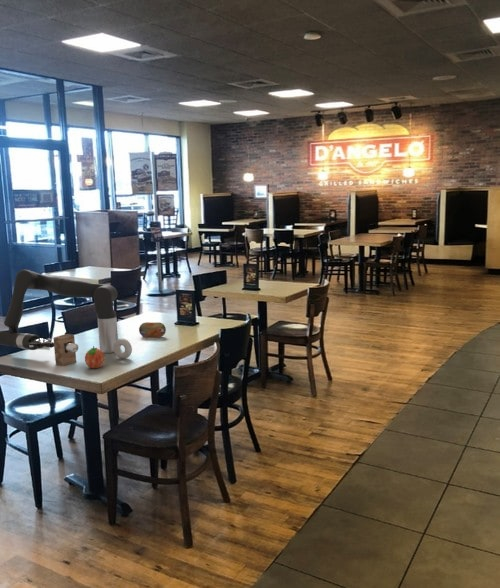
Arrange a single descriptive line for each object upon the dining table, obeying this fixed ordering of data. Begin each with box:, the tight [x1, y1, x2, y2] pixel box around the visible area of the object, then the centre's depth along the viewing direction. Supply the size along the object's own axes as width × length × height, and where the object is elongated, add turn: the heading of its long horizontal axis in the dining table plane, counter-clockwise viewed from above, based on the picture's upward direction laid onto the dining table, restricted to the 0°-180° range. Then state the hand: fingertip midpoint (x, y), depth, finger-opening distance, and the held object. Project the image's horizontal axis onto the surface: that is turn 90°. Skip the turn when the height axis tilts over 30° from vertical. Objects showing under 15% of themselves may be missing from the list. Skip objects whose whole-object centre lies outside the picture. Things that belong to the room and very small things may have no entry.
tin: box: [138, 321, 167, 339], centre depth 321 cm, size 15×3×8 cm, turn 76°
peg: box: [64, 343, 79, 353], centre depth 272 cm, size 9×4×4 cm, turn 60°
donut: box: [113, 337, 133, 360], centre depth 278 cm, size 10×3×10 cm, turn 66°
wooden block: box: [52, 333, 77, 367], centre depth 273 cm, size 5×8×13 cm, turn 150°
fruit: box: [84, 345, 105, 369], centre depth 264 cm, size 9×10×10 cm
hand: (52, 345), depth 277 cm, fingers closed
